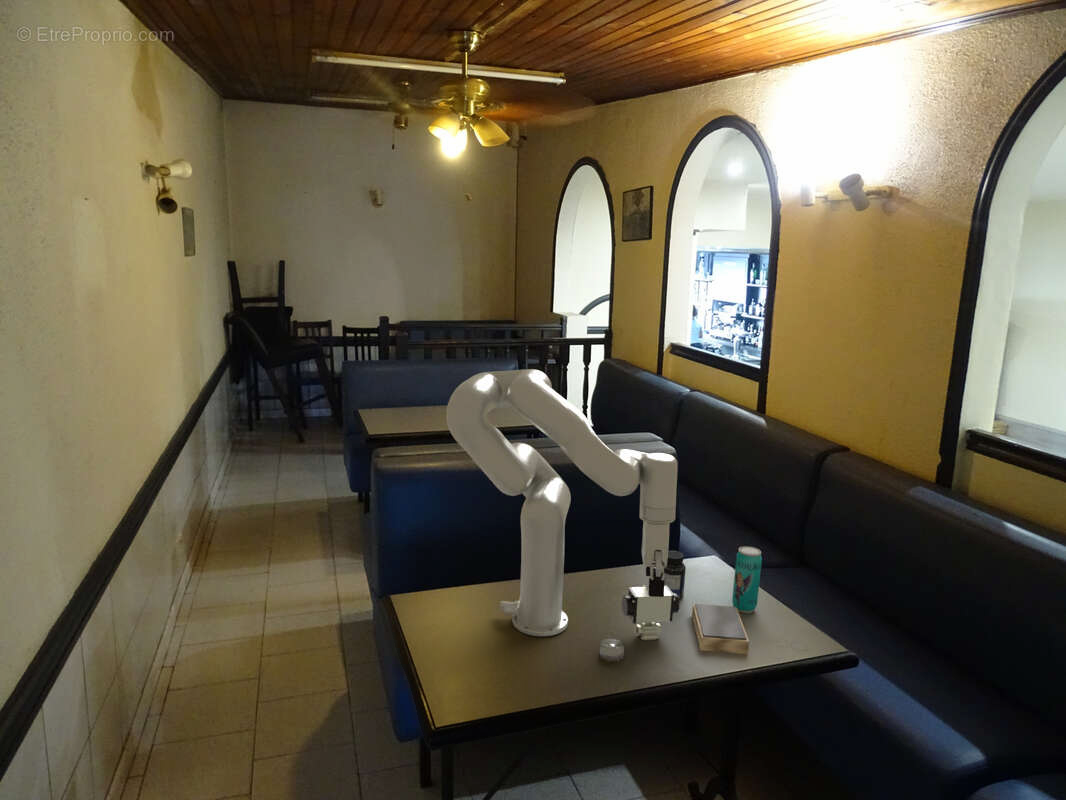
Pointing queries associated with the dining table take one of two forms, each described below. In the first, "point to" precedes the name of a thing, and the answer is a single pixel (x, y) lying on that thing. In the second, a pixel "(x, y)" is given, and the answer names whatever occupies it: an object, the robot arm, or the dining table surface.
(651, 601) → the pneumatic valve
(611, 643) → the steel spacer
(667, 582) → the pill bottle
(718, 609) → the framed panel
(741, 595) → the beverage can
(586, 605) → the dining table surface
